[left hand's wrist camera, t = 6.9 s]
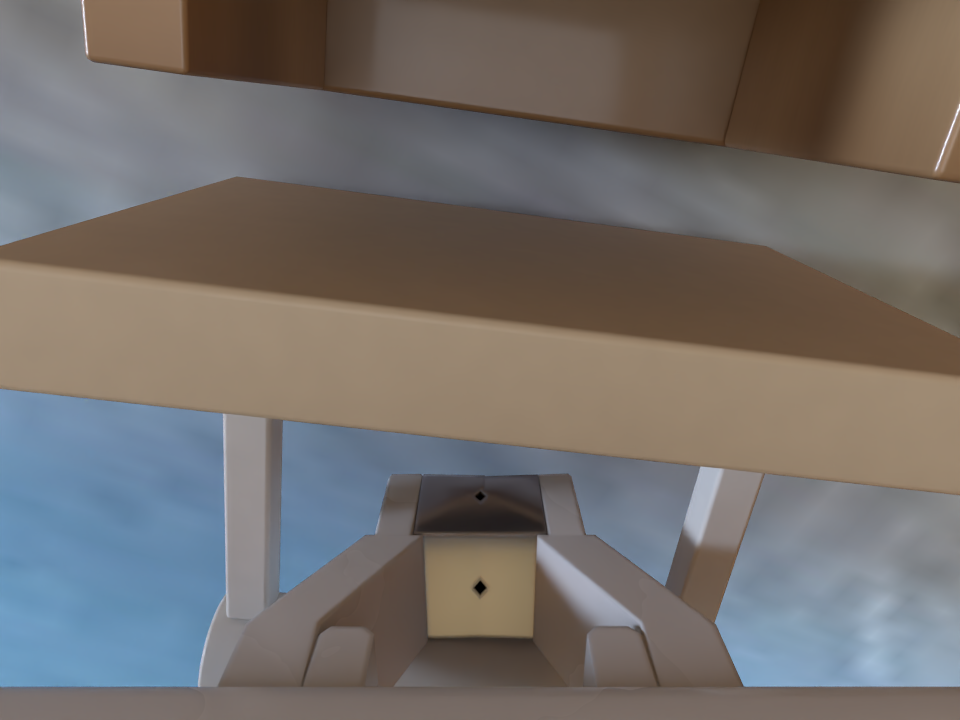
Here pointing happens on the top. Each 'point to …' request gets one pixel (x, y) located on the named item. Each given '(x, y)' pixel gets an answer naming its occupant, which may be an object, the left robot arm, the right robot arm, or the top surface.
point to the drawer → (514, 270)
